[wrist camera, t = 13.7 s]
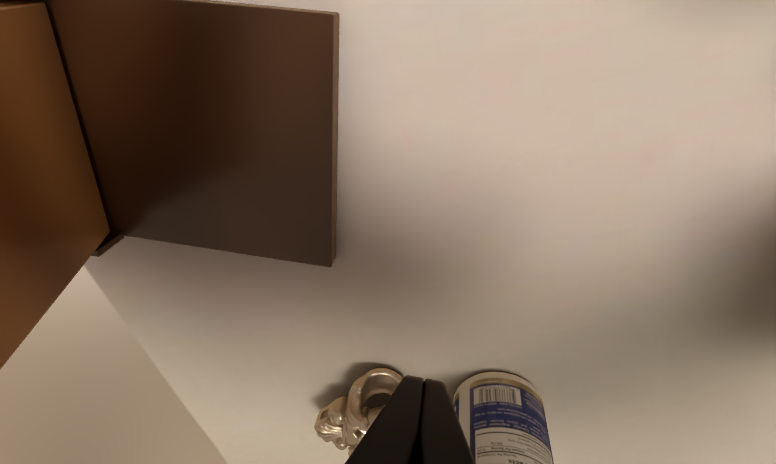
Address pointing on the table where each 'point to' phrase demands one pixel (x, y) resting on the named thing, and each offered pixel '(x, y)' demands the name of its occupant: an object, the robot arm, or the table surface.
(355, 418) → the ornament
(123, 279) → the table surface
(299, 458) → the table surface
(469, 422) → the pill bottle
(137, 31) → the stand
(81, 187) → the wooden letter rack
